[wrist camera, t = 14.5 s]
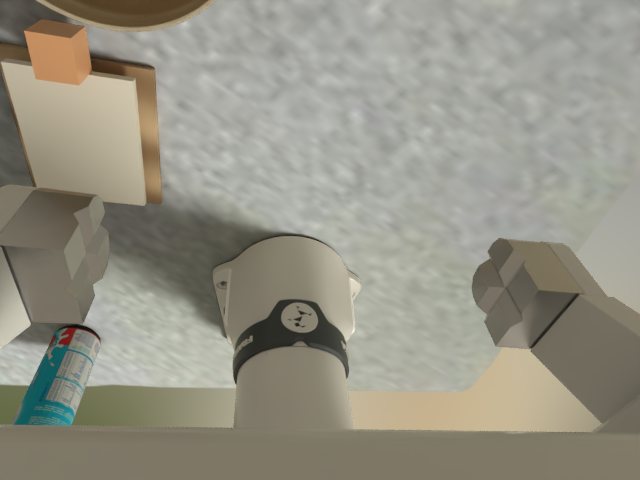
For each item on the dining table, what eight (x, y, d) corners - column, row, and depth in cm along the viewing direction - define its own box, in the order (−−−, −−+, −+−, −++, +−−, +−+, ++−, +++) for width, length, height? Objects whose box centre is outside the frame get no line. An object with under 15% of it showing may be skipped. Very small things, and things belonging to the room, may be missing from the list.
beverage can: (52, 321, 56) (-4, 434, 45) (101, 325, 58) (58, 436, 46) (58, 347, 60) (7, 458, 49) (103, 350, 61) (64, 459, 50)
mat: (162, 200, 45) (160, 203, 45) (37, 187, 43) (34, 190, 42) (154, 67, 36) (153, 70, 36) (-4, 42, 34) (-7, 44, 34)
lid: (148, 195, 44) (139, 219, 41) (46, 184, 42) (28, 208, 39) (134, 30, 34) (120, 46, 31) (-1, 7, 32) (-30, 21, 29)
